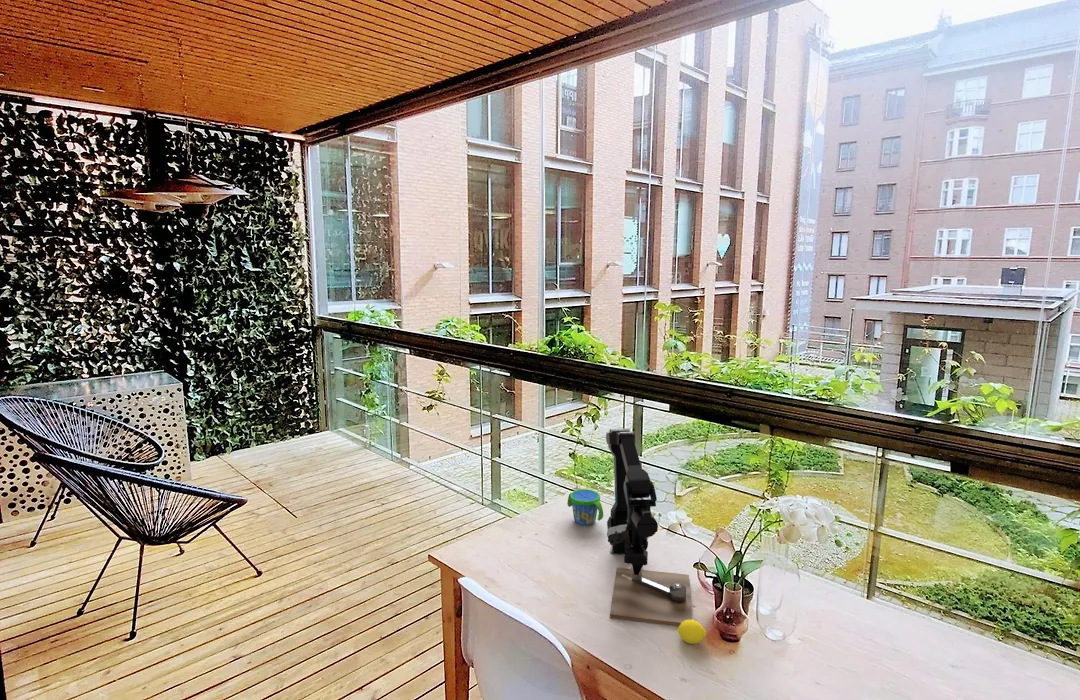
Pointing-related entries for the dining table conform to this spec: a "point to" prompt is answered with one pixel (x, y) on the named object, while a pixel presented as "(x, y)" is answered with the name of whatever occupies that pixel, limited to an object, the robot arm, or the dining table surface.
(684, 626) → the lemon
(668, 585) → the board
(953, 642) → the dining table surface
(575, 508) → the snack cup
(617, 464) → the robot arm
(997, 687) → the dining table surface
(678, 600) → the lever
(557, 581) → the dining table surface
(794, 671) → the dining table surface
